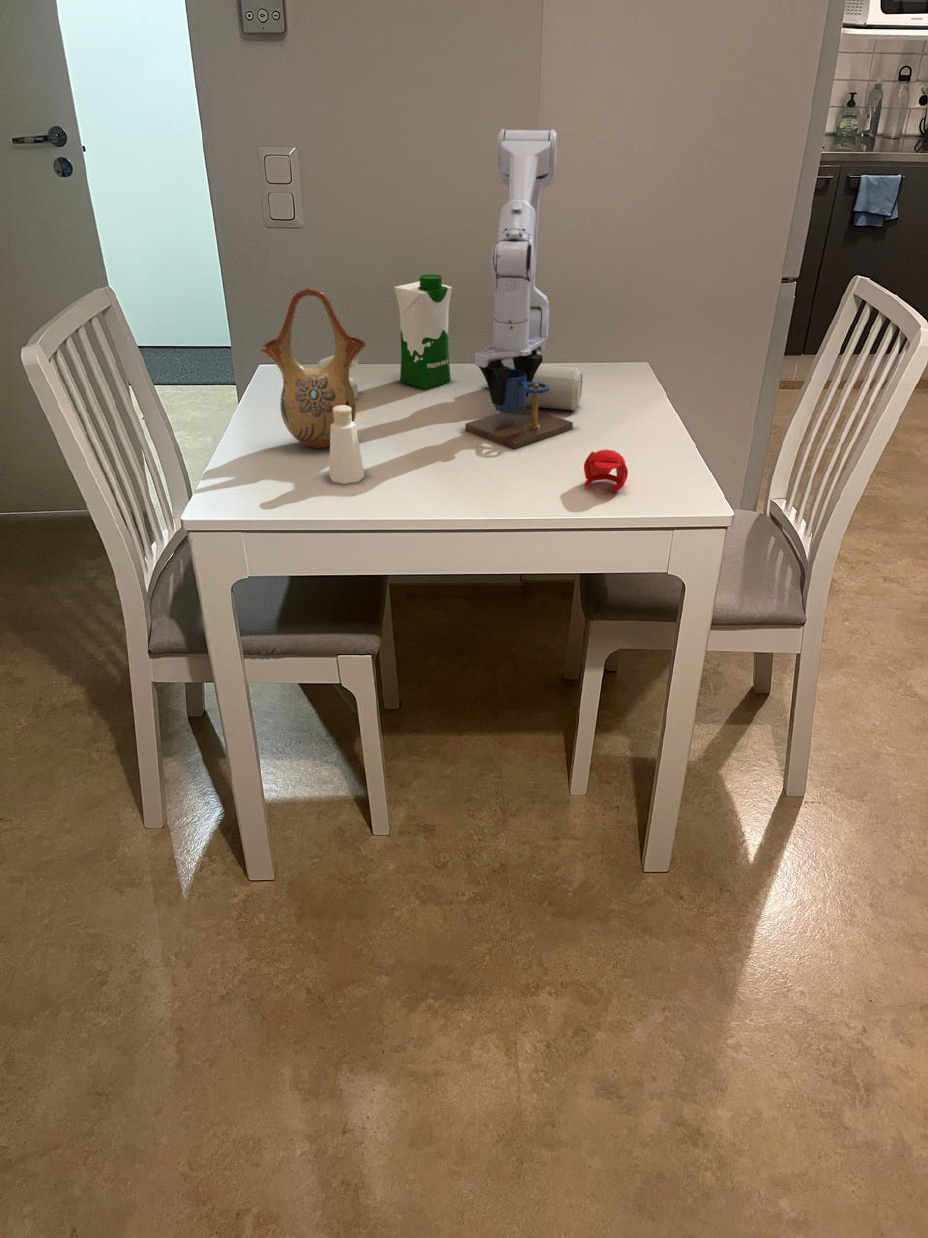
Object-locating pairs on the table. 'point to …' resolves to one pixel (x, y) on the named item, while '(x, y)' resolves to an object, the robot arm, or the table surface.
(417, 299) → the milk carton
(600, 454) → the red hollow rounded piece
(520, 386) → the cup
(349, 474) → the pepper shaker
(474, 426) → the peg stand
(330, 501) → the table surface
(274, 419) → the table surface
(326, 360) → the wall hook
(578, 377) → the can
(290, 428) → the ceramic vessel
